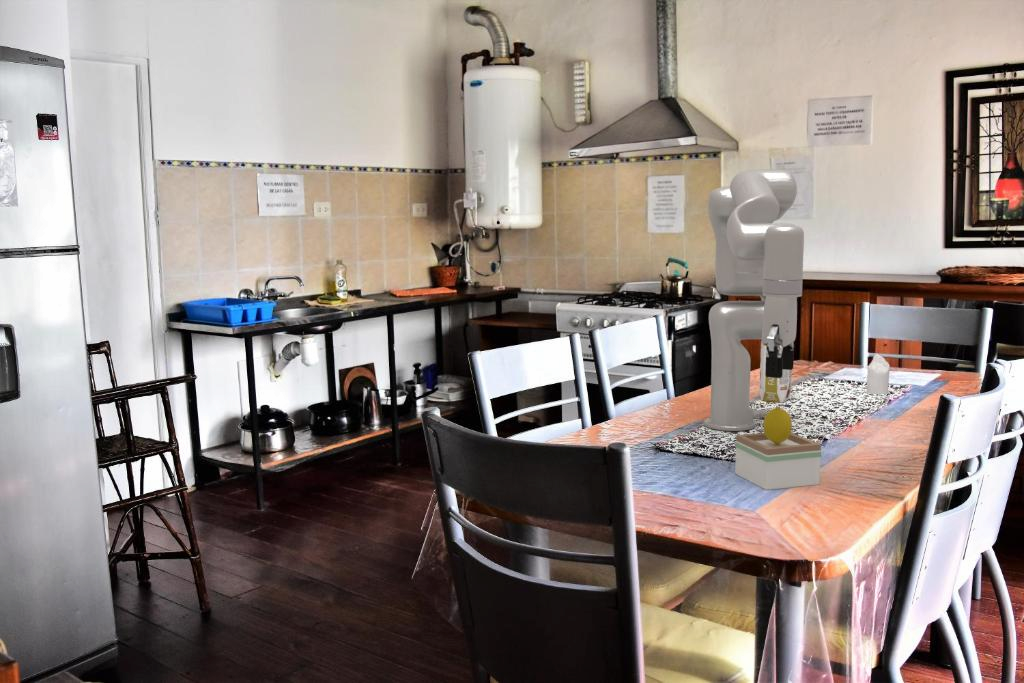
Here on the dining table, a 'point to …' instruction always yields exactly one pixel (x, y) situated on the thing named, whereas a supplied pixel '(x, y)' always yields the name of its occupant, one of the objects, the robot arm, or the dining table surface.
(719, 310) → the robot arm
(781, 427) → the lemon
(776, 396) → the juice carton
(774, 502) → the dining table surface
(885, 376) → the white pointed cylinder
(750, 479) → the stand
